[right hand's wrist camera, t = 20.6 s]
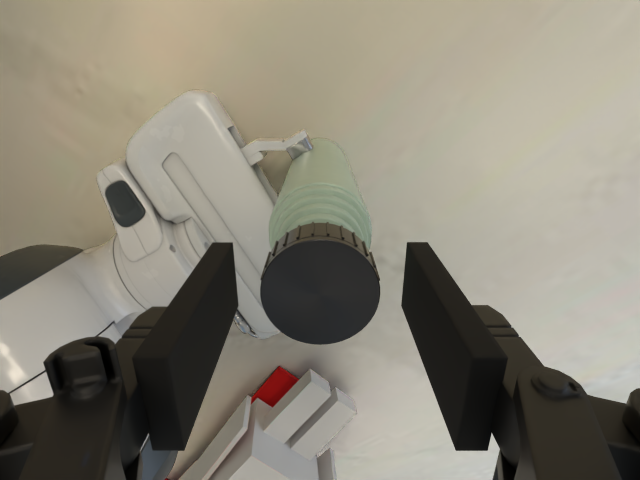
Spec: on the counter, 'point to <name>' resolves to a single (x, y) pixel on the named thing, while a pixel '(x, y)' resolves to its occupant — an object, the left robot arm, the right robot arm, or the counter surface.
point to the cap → (320, 284)
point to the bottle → (320, 194)
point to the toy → (278, 433)
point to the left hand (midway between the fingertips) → (329, 175)
